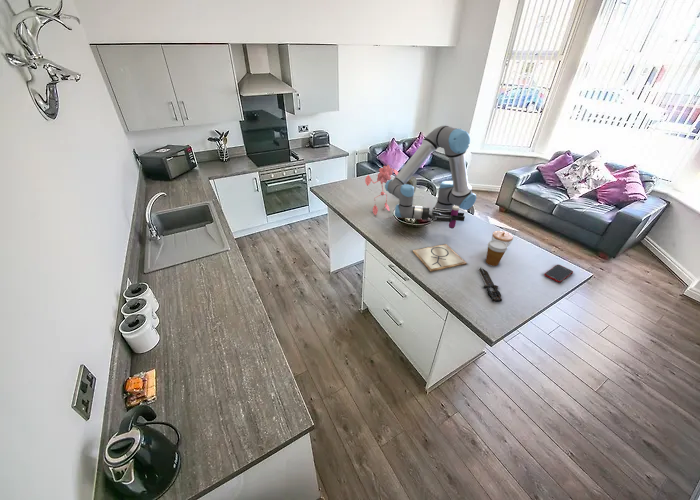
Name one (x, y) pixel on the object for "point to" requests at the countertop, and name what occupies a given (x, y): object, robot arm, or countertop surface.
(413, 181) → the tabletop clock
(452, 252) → the drawing board
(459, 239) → the countertop surface
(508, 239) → the lidded sugar bowl
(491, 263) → the disposable coffee cup
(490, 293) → the knife
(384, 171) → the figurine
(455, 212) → the dot marker
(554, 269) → the cell phone
